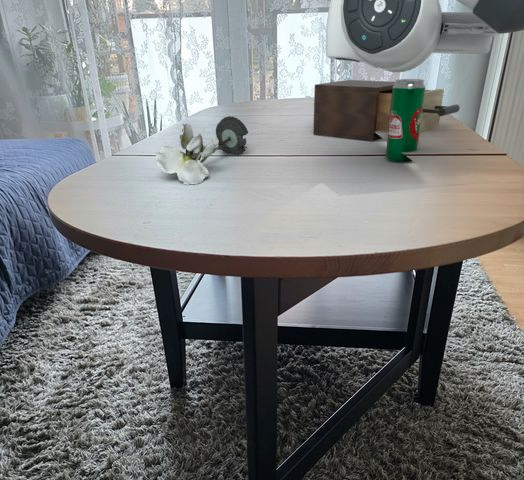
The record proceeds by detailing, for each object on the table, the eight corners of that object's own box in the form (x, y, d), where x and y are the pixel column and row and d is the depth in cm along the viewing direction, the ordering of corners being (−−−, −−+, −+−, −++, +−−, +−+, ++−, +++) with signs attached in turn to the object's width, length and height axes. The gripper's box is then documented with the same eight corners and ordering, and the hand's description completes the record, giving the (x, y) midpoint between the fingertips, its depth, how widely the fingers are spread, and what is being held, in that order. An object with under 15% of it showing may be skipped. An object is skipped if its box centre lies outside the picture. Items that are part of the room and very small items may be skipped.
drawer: (460, 134, 100) (467, 90, 96) (434, 142, 93) (441, 95, 89) (379, 126, 111) (383, 86, 106) (350, 133, 103) (353, 91, 99)
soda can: (380, 158, 87) (387, 79, 81) (407, 156, 88) (416, 78, 82) (393, 164, 83) (402, 81, 77) (421, 161, 84) (432, 80, 78)
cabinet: (403, 132, 108) (409, 82, 103) (372, 141, 100) (377, 87, 95) (345, 127, 117) (348, 79, 112) (313, 134, 109) (314, 84, 104)
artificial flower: (258, 163, 92) (268, 106, 85) (191, 211, 77) (196, 147, 70) (216, 146, 94) (222, 89, 87) (142, 190, 78) (142, 125, 71)
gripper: (506, -7, 53) (500, 12, 65) (317, -6, 59) (343, 12, 71) (491, 62, 56) (488, 69, 68) (313, 57, 62) (338, 64, 73)
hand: (412, 40), depth 69 cm, fingers closed
